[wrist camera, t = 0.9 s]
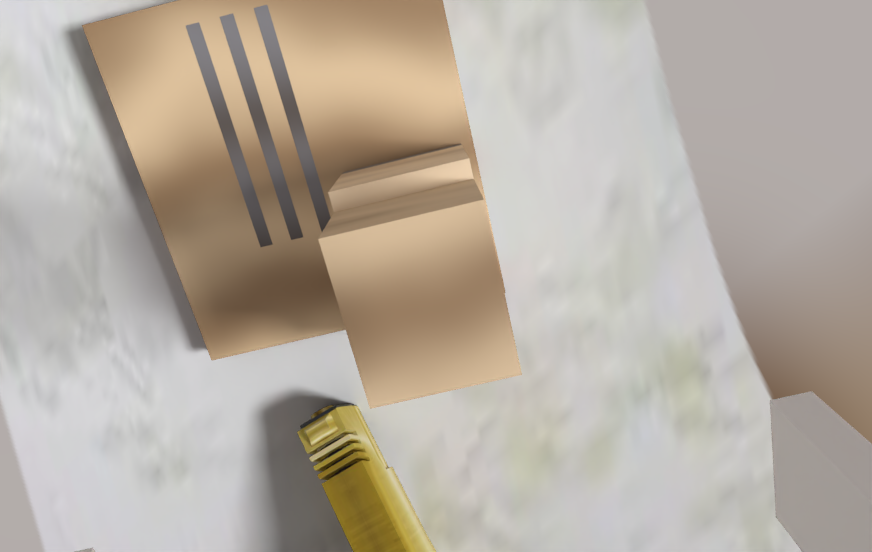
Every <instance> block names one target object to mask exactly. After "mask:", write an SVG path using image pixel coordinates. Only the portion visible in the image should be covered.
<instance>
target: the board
mask: <svg viewBox="0 0 872 552" xmlns="http://www.w3.org/2000/svg"><path fill="white" fill-rule="evenodd" d="M82 27H83V29H84V32H85V34H86V37H87V40H88V42H89V45H90V47H91V50H92V53H93V55H94V58H95V60H96V63H97V65H98V68H99V71H100V73H101V76H102V78H103V81H104V84H105V86H106V89H107V91H108V94H109V96H110V99H111V102H112V104H113V107H114V109H115V112H116V115H117V117H118V120H119V122H120V125H121V127H122V130H123V133H124V135H125V138H126V140H127V143H128V146H129V148H130V151H131V153H132V156H133V158H134V161H135V164H136V166H137V169H138V171H139V174H140V177H141V179H142V182H143V184H144V187H145V189H146V192H147V195H148V197H149V200H150V202H151V205H152V208H153V210H154V213H155V215H156V218H157V220H158V223H159V226H160V228H161V231H162V233H163V236H164V239H165V241H166V244H167V246H168V249H169V251H170V254H171V257H172V259H173V262H174V264H175V267H176V270H177V272H178V275H179V277H180V280H181V282H182V285H183V288H184V290H185V293H186V295H187V298H188V301H189V303H190V306H191V308H192V311H193V313H194V316H195V319H196V321H197V324H198V326H199V329H200V332H201V334H202V337H203V339H204V342H205V344H206V347H207V350H208V352H209V355H210V357H211V360H216V359H220V358H225V357H229V356H233V355H238V354H242V353H246V352H251V351H255V350H259V349H264V348H268V347H272V346H277V345H281V344H285V343H289V342H294V341H298V340H302V339H307V338H311V337H315V336H320V335H324V334H328V333H333V332H337V331H341V330H346V328H345V325H344V322H343V319H342V315H341V312H340V309H339V306H338V302H337V299H336V296H335V292H334V289H333V286H332V283H331V279H330V276H329V273H328V270H327V266H326V263H325V260H324V257H323V253H322V250H321V247H320V244H319V240H318V238H319V237H320V235H321V233H322V232H323V230H324V228H325V227H326V225H327V223H328V222H329V220H330V218H331V217H332V215H333V213H334V211H333V207H332V204H331V201H330V197H329V194H328V192H329V190H330V189H331V188H332V186H333V185H334V184H335V182H336V181H337V180H338V178H339V177H340V176H341V174H342V173H343V172H346V171H350V170H354V169H358V168H362V167H366V166H370V165H374V164H378V163H383V162H387V161H391V160H395V159H399V158H403V157H407V156H411V155H415V154H419V153H424V152H428V151H432V150H436V149H440V148H444V147H448V146H452V145H456V144H460V143H461V145H462V146H463V148H464V150H465V152H466V153H467V155H468V157H469V159H470V164H471V169H472V173H473V178H474V180H475V182H476V184H477V186H478V188H479V190H480V192H481V194H482V196H483V198H484V201H485V206H486V211H487V215H488V220H489V225H490V229H491V234H492V238H493V243H494V248H495V252H496V257H497V262H498V266H499V271H500V275H501V280H502V285H503V289H504V293H505V288H504V284H503V279H502V274H501V270H500V265H499V260H498V256H497V251H496V246H495V242H494V237H493V232H492V228H491V223H490V219H489V214H488V209H487V205H486V200H485V195H484V191H483V186H482V181H481V177H480V172H479V167H478V163H477V158H476V153H475V149H474V144H473V140H472V135H471V130H470V126H469V121H468V116H467V112H466V107H465V102H464V98H463V93H462V88H461V84H460V79H459V74H458V70H457V65H456V61H455V56H454V51H453V47H452V42H451V37H450V33H449V28H448V23H447V19H446V14H445V9H444V5H443V0H178V1H174V2H170V3H166V4H162V5H158V6H155V7H151V8H147V9H143V10H139V11H135V12H132V13H128V14H124V15H120V16H116V17H112V18H109V19H105V20H101V21H97V22H93V23H89V24H85V25H82Z"/></svg>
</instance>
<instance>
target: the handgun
mask: <svg viewBox="0 0 872 552" xmlns="http://www.w3.org/2000/svg"><path fill="white" fill-rule="evenodd" d="M311 418H312V419H311V420H309V421H307V422H306V423H304V424H303V425H301V426H300V427H301V430H299V431H298V432H297V433H298V435H299V437H300V439H301V441H302V444H303V446H304V448H305V450H306V452H307V453H308V454H314V455H313V456H311V457H309V458H310V461H311V462H317V463H318V464H317V465H315V466H313V467H314V469H315V470H316V471H322V472H321V473H320V474H318V475H317V476H318V478H319V479H323V480H327V481H326V482H324V483H322V486H323V488H324V490H325V493H326V495H327V497H328V499H329V501H330V503H331V505H332V507H333V510H334V512H335V514H336V516H337V518H338V520H339V522H340V524H341V527H342V529H343V531H344V533H345V535H346V537H347V539H348V542H349V544H350V546H351V548H352V550H353V552H436V550H435V549H434V547H433V545H432V543H431V541H430V540H429V538H428V536H427V534H426V532H425V530H424V528H423V526H422V524H421V523H420V521H419V519H418V517H417V515H416V513H415V511H414V509H413V507H412V505H411V503H410V501H409V499H408V497H407V495H406V493H405V491H404V489H403V487H402V485H401V483H400V481H399V479H398V477H397V475H396V473H395V471H394V469H393V467H390V468H388V466H387V464H386V462H385V460H384V458H383V456H382V454H381V452H380V450H379V448H378V446H377V444H376V442H375V440H374V438H373V436H372V434H371V432H370V430H369V428H368V426H367V424H366V422H365V420H364V418H363V416H362V414H361V412H360V410H359V408H358V407H357V406H354V404H343V405H335V406H332V405H330V406H327V407H325V408H323V409H321V410H319V411H317V412H315V413H314V414H313V415H312V416H311Z"/></svg>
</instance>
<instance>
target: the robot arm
mask: <svg viewBox="0 0 872 552" xmlns="http://www.w3.org/2000/svg"><path fill="white" fill-rule="evenodd" d="M770 411H771V431H772V450H773V469H774V489H775V508H776V518H777V519H778V520H779V522H780V523H781V524H782V525H783V527H784V528H785V529H786V531H787V532H788V533H789V535H790V536H791V537H792V539H793V540H794V541H795V542H796V544H797V545H798V546H799V548H800V549H801V550H802V552H872V444H871V443H870V442H869V441H868V440H867V439H865V438H864V437H863V436H862V435H861V434H860V433H859V432H857V431H856V430H855V429H854V428H852V426H851V425H849V424H848V423H847V422H846V421H845V420H844V419H843V418H841V417H840V416H839V415H838V414H837V413H836V412H835V411H833V410H832V409H831V408H830V407H829V406H828V405H827V404H826V403H824V402H823V401H822V400H821V399H820V398H819V397H817V396H816V395H815V394H814V393H813V392H807V393H802V394H797V395H793V396H789V397H784V398H779V399H774V400H770ZM76 552H95V550H94V549H93V548H90V549H85V550H80V551H76Z"/></svg>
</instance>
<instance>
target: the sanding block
mask: <svg viewBox="0 0 872 552" xmlns="http://www.w3.org/2000/svg"><path fill="white" fill-rule="evenodd" d="M328 194H329V197H330V201H331V204H332V207H333V211H334V213H333V215H332V217H331V218H330V220H329V222H328V223H327V225H326V227H325V228H324V230H323V232H322V233H321V235H320V237H319V238H318V240H319V244H320V247H321V250H322V253H323V257H324V260H325V263H326V266H327V270H328V273H329V276H330V279H331V283H332V286H333V289H334V292H335V296H336V299H337V302H338V306H339V309H340V312H341V315H342V319H343V322H344V325H345V328H346V332H347V335H348V338H349V341H350V345H351V348H352V351H353V354H354V358H355V361H356V364H357V367H358V371H359V374H360V377H361V380H362V384H363V387H364V390H365V393H366V397H367V400H368V403H369V406H370V409H371V408H376V407H380V406H384V405H389V404H393V403H398V402H402V401H407V400H411V399H416V398H420V397H425V396H429V395H434V394H438V393H442V392H447V391H451V390H456V389H460V388H465V387H469V386H474V385H478V384H483V383H487V382H491V381H496V380H500V379H505V378H509V377H514V376H518V375H522V373H521V368H520V363H519V359H518V354H517V350H516V345H515V340H514V336H513V331H512V326H511V322H510V317H509V313H508V308H507V303H506V299H505V294H504V289H503V285H502V280H501V275H500V271H499V266H498V262H497V257H496V252H495V248H494V243H493V238H492V234H491V229H490V225H489V220H488V215H487V211H486V206H485V201H484V198H483V196H482V194H481V192H480V190H479V188H478V186H477V184H476V182H475V180H474V178H473V173H472V169H471V164H470V159H469V157H468V155H467V153H466V152H465V150H464V148H463V146H462V145H461V143H460V144H456V145H452V146H448V147H444V148H440V149H436V150H432V151H428V152H424V153H419V154H415V155H411V156H407V157H403V158H399V159H395V160H391V161H387V162H383V163H378V164H374V165H370V166H366V167H362V168H358V169H354V170H350V171H346V172H343V173H342V174H341V176H340V177H339V178H338V180H337V181H336V182H335V184H334V185H333V186H332V188H331V189H330V190H329V192H328Z"/></svg>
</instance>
